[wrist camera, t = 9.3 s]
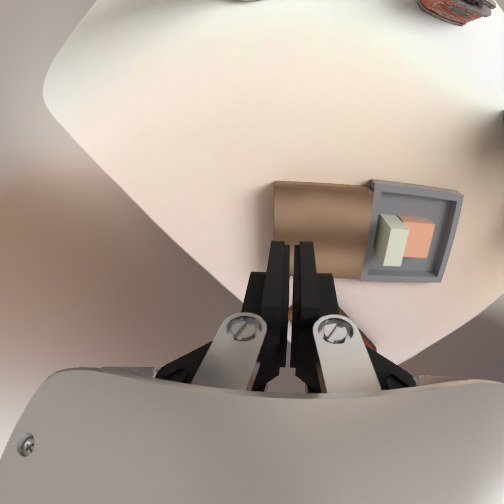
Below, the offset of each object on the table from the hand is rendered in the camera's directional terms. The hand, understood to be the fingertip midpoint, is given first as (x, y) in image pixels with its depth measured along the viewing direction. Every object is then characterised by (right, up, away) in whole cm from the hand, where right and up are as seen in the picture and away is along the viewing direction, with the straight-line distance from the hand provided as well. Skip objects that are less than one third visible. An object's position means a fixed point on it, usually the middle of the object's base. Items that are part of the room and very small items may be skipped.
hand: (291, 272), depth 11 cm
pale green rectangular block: (+15, +3, +22) cm, 26 cm away
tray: (+21, +4, +23) cm, 31 cm away
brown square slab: (+7, +4, +25) cm, 27 cm away
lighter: (+24, +34, +7) cm, 42 cm away
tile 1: (+20, +2, +21) cm, 29 cm away
